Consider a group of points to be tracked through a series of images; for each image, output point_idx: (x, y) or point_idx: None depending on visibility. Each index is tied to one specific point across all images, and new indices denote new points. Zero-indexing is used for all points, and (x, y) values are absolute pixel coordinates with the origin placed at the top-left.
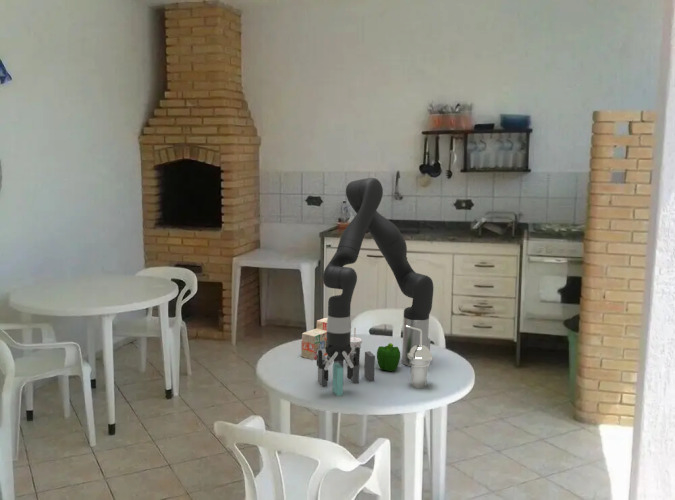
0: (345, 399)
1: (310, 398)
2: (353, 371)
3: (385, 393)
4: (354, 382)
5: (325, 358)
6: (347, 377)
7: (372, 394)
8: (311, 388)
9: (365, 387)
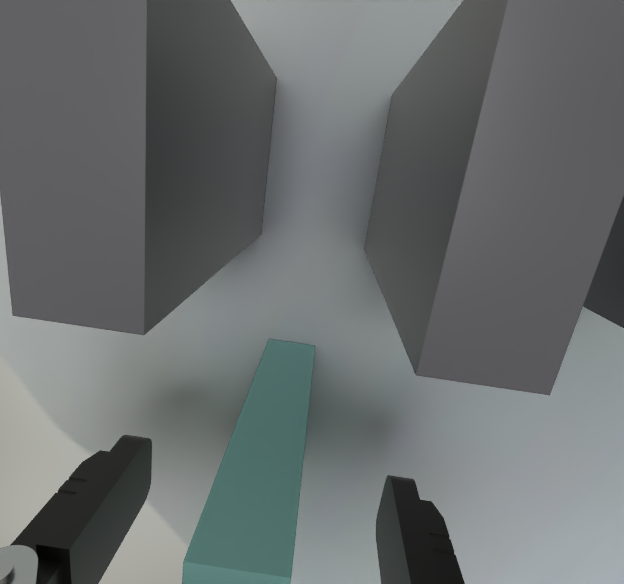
0: None
1: (55, 416)
2: (596, 291)
3: (606, 534)
4: None
5: (115, 244)
6: (386, 484)
7: (508, 515)
8: None
9: (552, 388)
